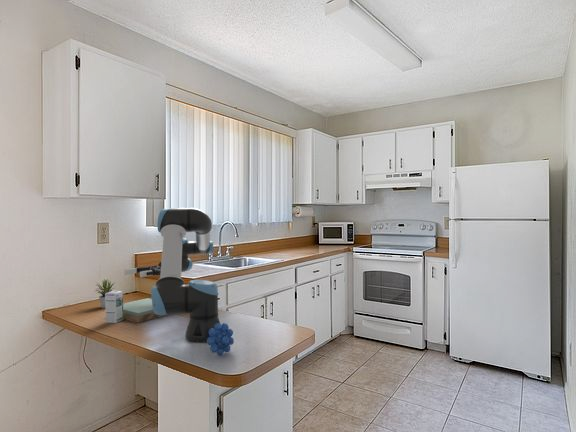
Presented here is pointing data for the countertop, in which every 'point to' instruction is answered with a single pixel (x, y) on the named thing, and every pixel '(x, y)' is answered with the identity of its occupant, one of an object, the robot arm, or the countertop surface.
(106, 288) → the house plant
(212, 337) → the grapes
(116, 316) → the syrup box
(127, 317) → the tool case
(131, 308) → the lid
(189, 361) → the countertop surface
